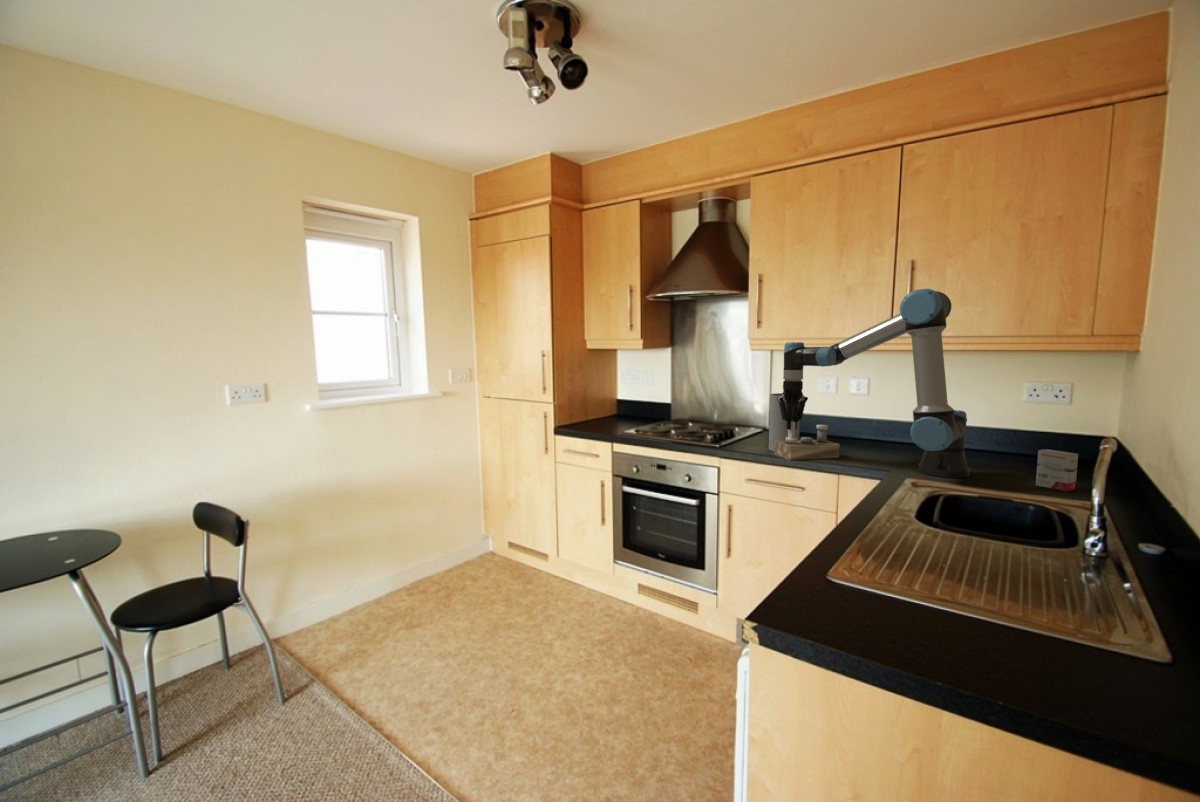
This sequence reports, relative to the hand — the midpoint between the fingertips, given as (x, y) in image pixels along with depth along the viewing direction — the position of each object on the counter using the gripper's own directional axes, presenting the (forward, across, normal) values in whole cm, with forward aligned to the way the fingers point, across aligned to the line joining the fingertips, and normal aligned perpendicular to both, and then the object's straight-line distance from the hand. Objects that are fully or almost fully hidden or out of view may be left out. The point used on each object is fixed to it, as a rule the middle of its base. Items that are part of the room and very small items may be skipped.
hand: (791, 437), depth 209 cm
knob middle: (+8, -7, 0) cm, 11 cm away
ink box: (+9, -56, +60) cm, 83 cm away
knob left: (+8, 0, 0) cm, 8 cm away
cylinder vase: (+9, -5, -14) cm, 17 cm away
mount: (+9, -7, 0) cm, 11 cm away
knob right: (+3, -14, 0) cm, 14 cm away
